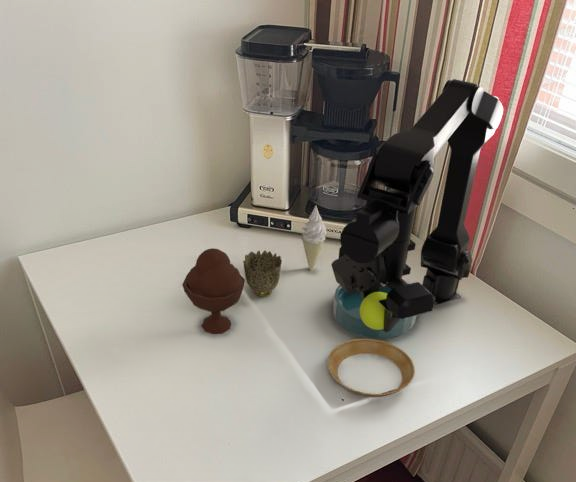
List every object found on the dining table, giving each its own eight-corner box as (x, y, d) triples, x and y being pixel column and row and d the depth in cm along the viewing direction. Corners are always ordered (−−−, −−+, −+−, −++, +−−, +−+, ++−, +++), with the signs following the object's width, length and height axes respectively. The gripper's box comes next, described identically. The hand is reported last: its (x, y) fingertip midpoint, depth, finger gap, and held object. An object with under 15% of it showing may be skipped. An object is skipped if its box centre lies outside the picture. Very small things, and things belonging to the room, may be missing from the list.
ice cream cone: (327, 269, 130) (333, 204, 120) (315, 280, 127) (320, 213, 117) (307, 262, 132) (311, 197, 122) (294, 273, 129) (297, 206, 119)
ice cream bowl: (175, 325, 114) (166, 254, 104) (219, 301, 120) (215, 232, 110) (213, 351, 109) (208, 279, 99) (257, 324, 115) (257, 254, 105)
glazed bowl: (386, 286, 126) (389, 268, 123) (431, 328, 116) (435, 310, 113) (318, 303, 121) (320, 285, 118) (359, 349, 110) (361, 331, 108)
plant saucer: (365, 339, 113) (367, 327, 111) (429, 379, 105) (432, 367, 103) (308, 373, 105) (309, 362, 103) (373, 419, 97) (375, 407, 96)
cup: (276, 307, 119) (277, 272, 114) (239, 302, 120) (238, 267, 115) (284, 287, 125) (285, 252, 119) (249, 282, 126) (248, 247, 120)
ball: (382, 311, 102) (387, 281, 98) (401, 332, 98) (407, 301, 94) (351, 320, 100) (354, 289, 96) (369, 340, 96) (374, 309, 92)
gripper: (312, 214, 92) (306, 301, 102) (377, 276, 79) (363, 368, 90) (375, 202, 96) (364, 287, 106) (447, 260, 83) (426, 349, 94)
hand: (377, 320), depth 99 cm, fingers closed on ball, 6 cm apart
